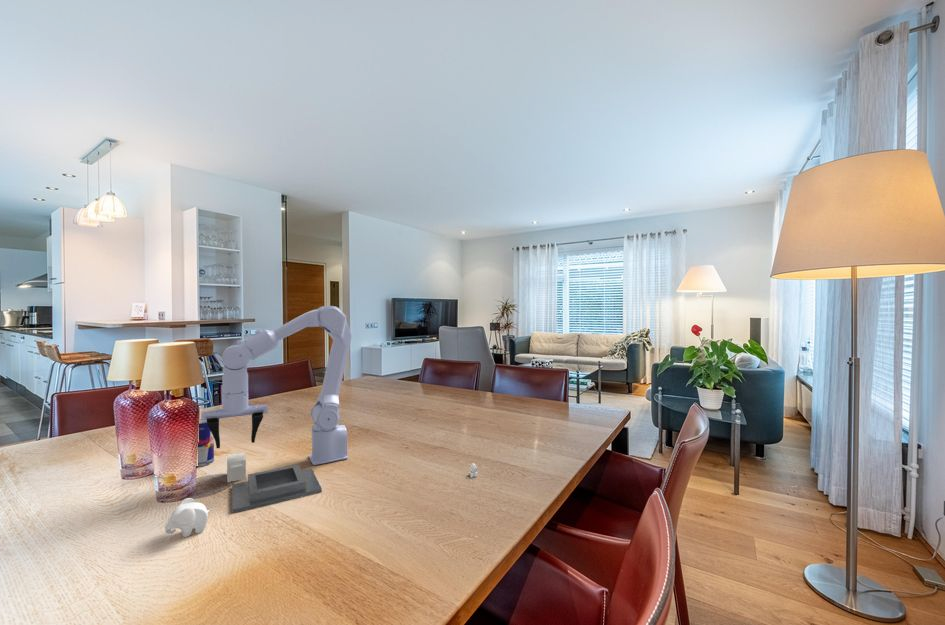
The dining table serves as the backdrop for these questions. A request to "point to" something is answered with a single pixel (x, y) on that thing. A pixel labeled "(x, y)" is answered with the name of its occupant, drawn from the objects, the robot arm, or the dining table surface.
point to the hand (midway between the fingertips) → (236, 444)
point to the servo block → (236, 467)
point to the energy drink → (205, 444)
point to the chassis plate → (273, 487)
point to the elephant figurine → (188, 517)
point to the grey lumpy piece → (473, 471)
